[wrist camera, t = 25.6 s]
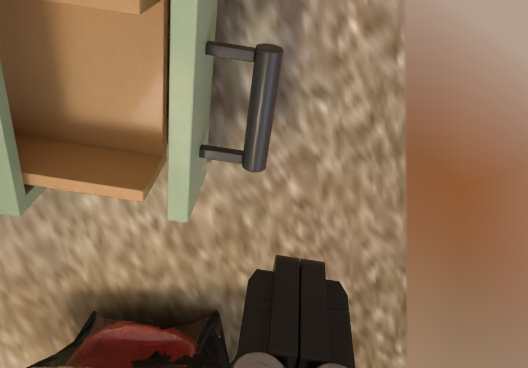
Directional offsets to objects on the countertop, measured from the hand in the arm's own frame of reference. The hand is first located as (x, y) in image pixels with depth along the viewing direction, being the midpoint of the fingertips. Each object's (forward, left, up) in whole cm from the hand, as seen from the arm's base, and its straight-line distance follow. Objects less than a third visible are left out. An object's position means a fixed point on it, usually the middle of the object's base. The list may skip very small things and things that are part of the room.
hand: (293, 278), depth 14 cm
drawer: (+11, 0, -15) cm, 19 cm away
